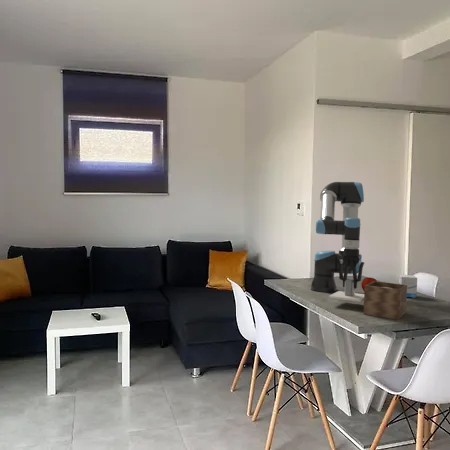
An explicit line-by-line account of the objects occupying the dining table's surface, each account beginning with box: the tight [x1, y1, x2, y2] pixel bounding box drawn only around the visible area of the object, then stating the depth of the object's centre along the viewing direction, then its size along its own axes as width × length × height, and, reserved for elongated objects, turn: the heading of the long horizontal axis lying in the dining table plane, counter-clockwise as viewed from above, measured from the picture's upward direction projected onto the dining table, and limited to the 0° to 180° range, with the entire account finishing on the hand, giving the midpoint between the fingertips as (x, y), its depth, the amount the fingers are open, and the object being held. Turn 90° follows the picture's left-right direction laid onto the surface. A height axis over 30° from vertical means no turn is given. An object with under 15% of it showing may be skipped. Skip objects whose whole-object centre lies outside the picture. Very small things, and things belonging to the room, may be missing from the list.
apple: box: [360, 277, 378, 293], centre depth 264 cm, size 9×8×11 cm
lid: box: [328, 278, 364, 303], centre depth 238 cm, size 16×16×9 cm
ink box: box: [398, 274, 418, 299], centre depth 267 cm, size 8×8×12 cm
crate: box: [363, 280, 407, 320], centre depth 223 cm, size 16×16×14 cm
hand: (349, 294), depth 238 cm, fingers closed on lid, 3 cm apart
